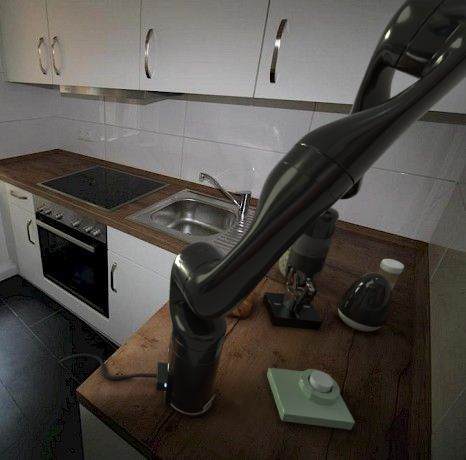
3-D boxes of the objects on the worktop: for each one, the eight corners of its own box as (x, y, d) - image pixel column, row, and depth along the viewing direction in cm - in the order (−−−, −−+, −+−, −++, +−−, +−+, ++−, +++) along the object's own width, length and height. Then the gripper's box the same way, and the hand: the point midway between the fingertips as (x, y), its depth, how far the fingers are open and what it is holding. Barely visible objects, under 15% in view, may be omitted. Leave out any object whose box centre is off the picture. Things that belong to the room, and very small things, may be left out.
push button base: (281, 421, 58) (286, 407, 56) (266, 374, 67) (270, 361, 65) (351, 430, 57) (359, 416, 55) (326, 381, 65) (332, 368, 64)
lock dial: (304, 311, 80) (310, 295, 77) (286, 310, 80) (291, 294, 78) (297, 300, 84) (302, 284, 81) (280, 299, 84) (285, 283, 81)
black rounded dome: (327, 323, 80) (347, 274, 73) (339, 304, 87) (358, 257, 80) (376, 345, 74) (403, 294, 67) (384, 323, 80) (409, 274, 73)
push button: (313, 391, 59) (316, 385, 59) (306, 375, 63) (308, 369, 62) (333, 394, 59) (336, 388, 58) (325, 377, 62) (327, 371, 61)
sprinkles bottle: (362, 296, 90) (380, 256, 84) (381, 300, 88) (401, 260, 82) (366, 306, 86) (385, 265, 80) (386, 310, 85) (407, 269, 78)
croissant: (227, 286, 94) (229, 276, 92) (262, 304, 87) (265, 294, 85) (204, 304, 87) (205, 293, 85) (240, 326, 79) (243, 314, 78)
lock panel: (272, 326, 79) (275, 316, 78) (262, 300, 88) (264, 291, 87) (319, 330, 78) (322, 321, 77) (303, 303, 87) (307, 294, 85)
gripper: (341, 266, 67) (318, 326, 75) (314, 235, 80) (297, 289, 88) (303, 263, 68) (285, 323, 76) (283, 233, 81) (268, 286, 88)
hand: (291, 304), depth 82 cm, fingers closed on lock dial, 4 cm apart
